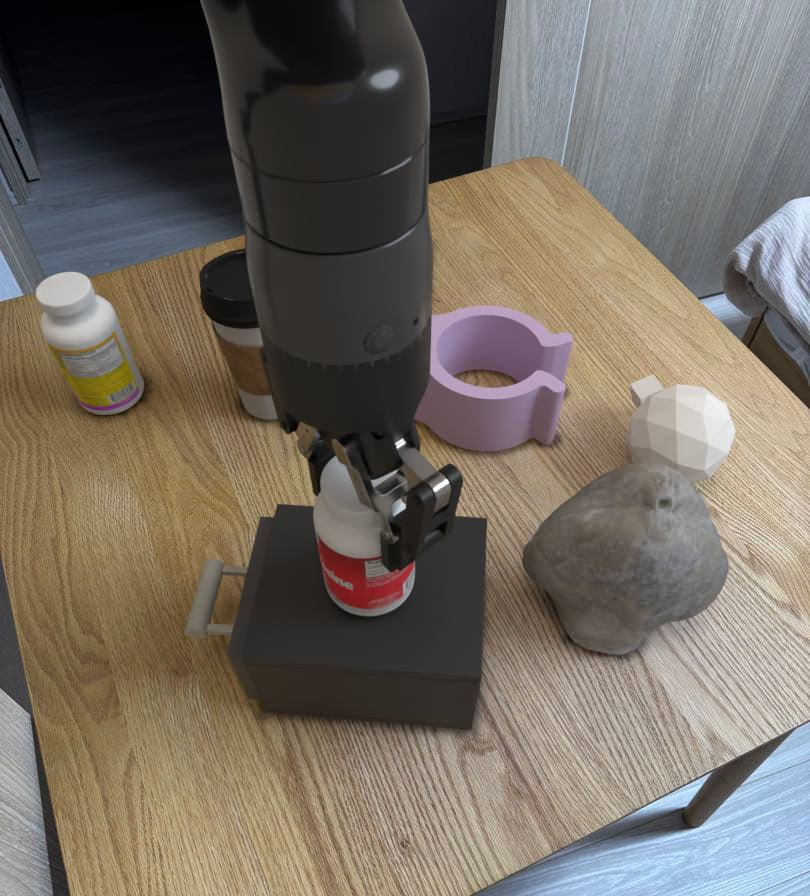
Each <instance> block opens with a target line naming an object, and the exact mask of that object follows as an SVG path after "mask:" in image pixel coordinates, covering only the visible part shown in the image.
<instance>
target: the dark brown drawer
mask: <svg viewBox="0 0 810 896" xmlns="http://www.w3.org/2000/svg"><path fill="white" fill-rule="evenodd" d="M273 520H274V516H260V517H259V520H258V524H257V529H256V532H255V537H254V540H253V541H254V542H253V545H252V549H251V554H250V558H249V563H248V564H247V565H248V566H241V565H230V564H227V565H226V564H225V563H224V562H223V561H221V560H220V559H217V558H206V559H205V560H204V561H203V564H202V567H201V572H200V575H199V579H198V581H197V585H196V588H195V593H194V596H193V599H192V602H191V606H190V610H189V614H188V617H187V621H186V625H185V627H184V634H185V635H186V636H187V637H189V638H193V639H198V640H200V639H205V638H206V637H207V636H208V635H215V636H216V635H217V636H228V637H230V639H229V643H228V647H227V651H226V656H227V658H228V660H229V662H230V664H231V666H232V668H233V670H234V672H235V674H236V677H237V679H238V681H239V683H240V685H241V687H242V689H243V691H244V693H245V695H246V697H247V699H248V700H256V701H260V699H259V696H258V694H257V692H256V690H255V687H254V685H253V683H252V681H251V678H250V676H249V674H248V672H247V669H246V667H245V665H244V663H243V661H242V653H243V649H244V645H245V640H246V636H247V632H248V627H249V623H250V619H251V614H252V610H253V606H254V602H255V597H256V593H257V589H258V584H259V580H260V576H261V571H262V567H263V563H264V558H265V554H266V550H267V546H268V541H269V537H270V533H271V528H272V524H273ZM223 576H229V577H243V578H244V577H245V578H244V582H243V586H242V590H241V595H240V598H239V601H238V606H237V611H236V614H235V618H234V623H233V625H232V624H220V623H211V622H212V617H213V613H214V610H215V607H216V603H217V599H218V595H219V591H220V587H221V583H222V580H223Z"/></svg>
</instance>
